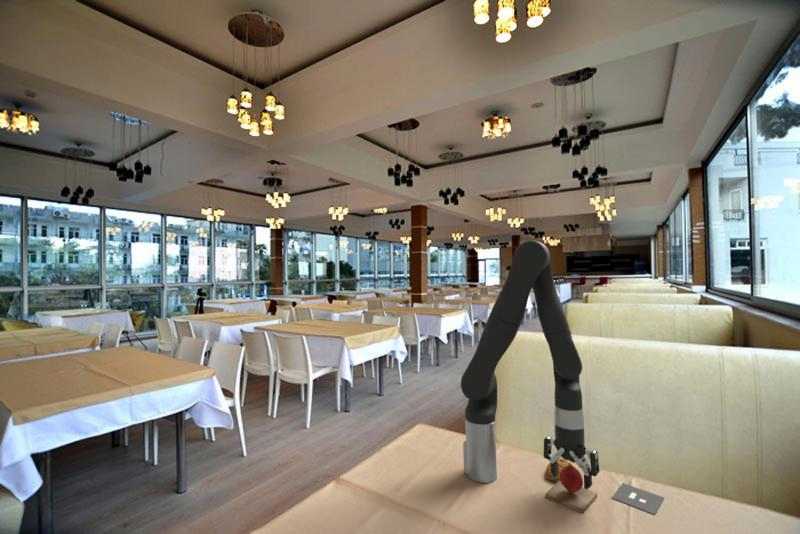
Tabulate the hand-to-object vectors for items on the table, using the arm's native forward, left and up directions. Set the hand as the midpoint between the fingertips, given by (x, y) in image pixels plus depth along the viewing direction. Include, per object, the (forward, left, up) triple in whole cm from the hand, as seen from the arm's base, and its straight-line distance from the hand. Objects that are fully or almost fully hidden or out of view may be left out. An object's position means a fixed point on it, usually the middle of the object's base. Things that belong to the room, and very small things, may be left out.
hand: (570, 481), depth 101 cm
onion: (0, 0, -3) cm, 3 cm away
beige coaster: (0, 0, -4) cm, 4 cm away
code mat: (+13, +12, -4) cm, 18 cm away
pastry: (-7, +9, -5) cm, 12 cm away
